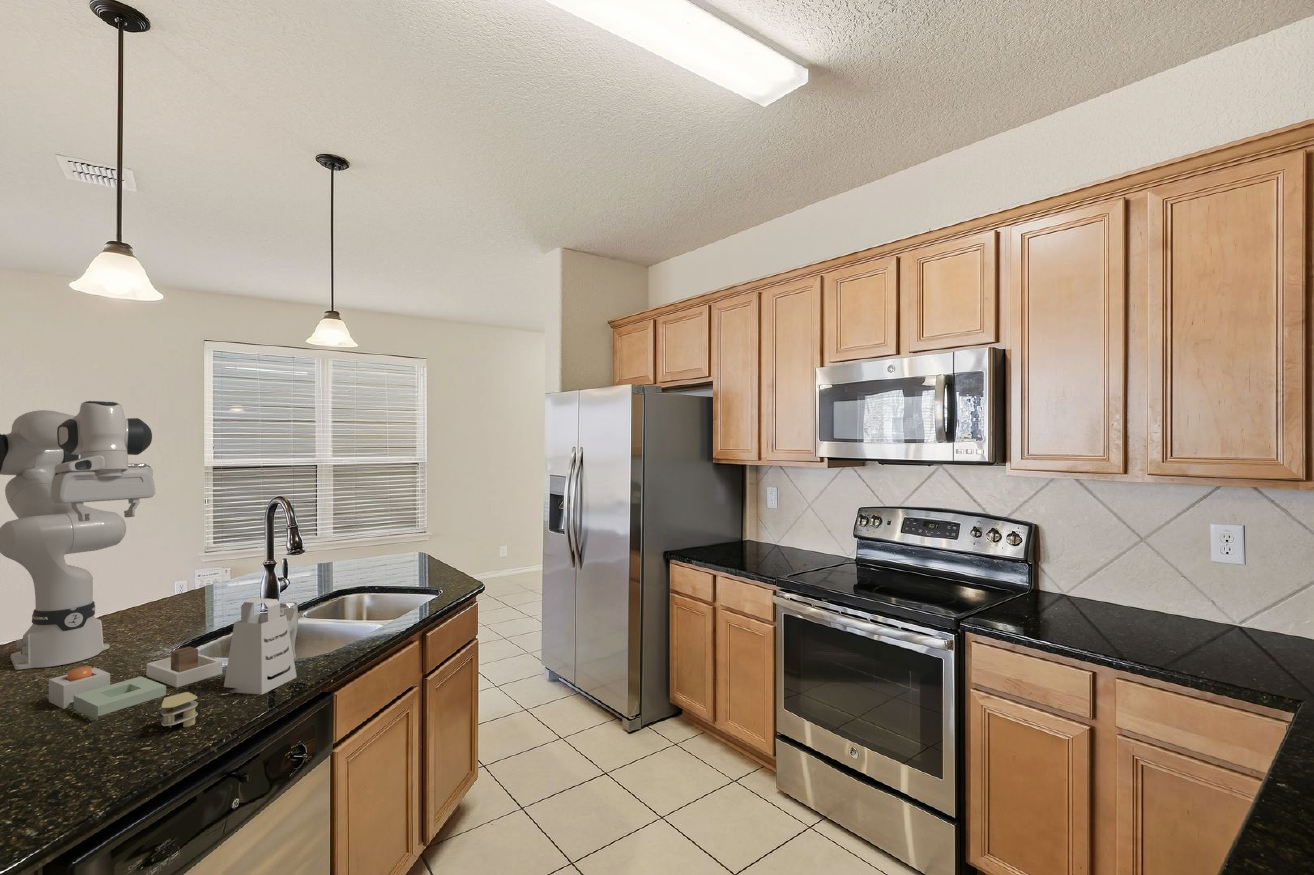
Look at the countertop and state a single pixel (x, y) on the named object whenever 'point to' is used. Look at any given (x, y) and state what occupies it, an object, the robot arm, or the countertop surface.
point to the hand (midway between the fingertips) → (107, 519)
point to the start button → (79, 673)
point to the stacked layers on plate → (179, 709)
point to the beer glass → (290, 622)
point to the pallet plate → (117, 696)
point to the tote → (166, 675)
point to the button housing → (75, 687)
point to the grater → (259, 650)
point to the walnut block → (184, 659)
